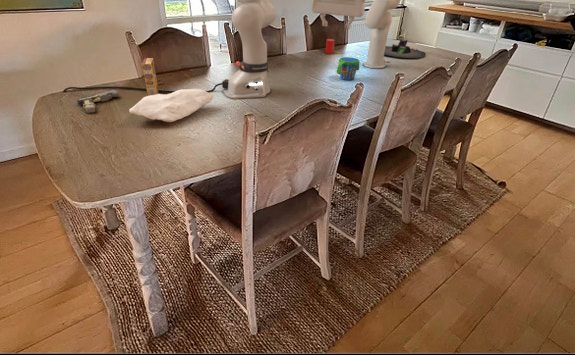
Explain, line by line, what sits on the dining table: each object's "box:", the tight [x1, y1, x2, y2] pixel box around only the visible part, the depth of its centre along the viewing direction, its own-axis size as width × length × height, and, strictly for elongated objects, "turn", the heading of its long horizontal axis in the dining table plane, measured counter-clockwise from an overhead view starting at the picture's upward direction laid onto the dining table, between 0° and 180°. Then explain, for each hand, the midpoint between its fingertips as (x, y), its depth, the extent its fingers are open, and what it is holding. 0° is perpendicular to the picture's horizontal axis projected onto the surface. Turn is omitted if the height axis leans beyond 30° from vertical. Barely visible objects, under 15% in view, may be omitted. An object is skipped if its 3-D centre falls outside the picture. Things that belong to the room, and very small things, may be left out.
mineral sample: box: [384, 38, 427, 59], centre depth 250 cm, size 35×35×9 cm
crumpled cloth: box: [129, 88, 214, 123], centre depth 147 cm, size 24×35×9 cm
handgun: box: [76, 89, 120, 114], centre depth 155 cm, size 3×18×15 cm
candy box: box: [141, 57, 160, 96], centre depth 163 cm, size 9×4×15 cm, turn 13°
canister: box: [325, 38, 335, 55], centre depth 242 cm, size 5×5×9 cm
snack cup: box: [336, 56, 361, 81], centre depth 195 cm, size 16×10×10 cm
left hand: (336, 27), depth 139 cm, fingers open, 8 cm apart
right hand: (331, 9), depth 228 cm, fingers open, 9 cm apart
